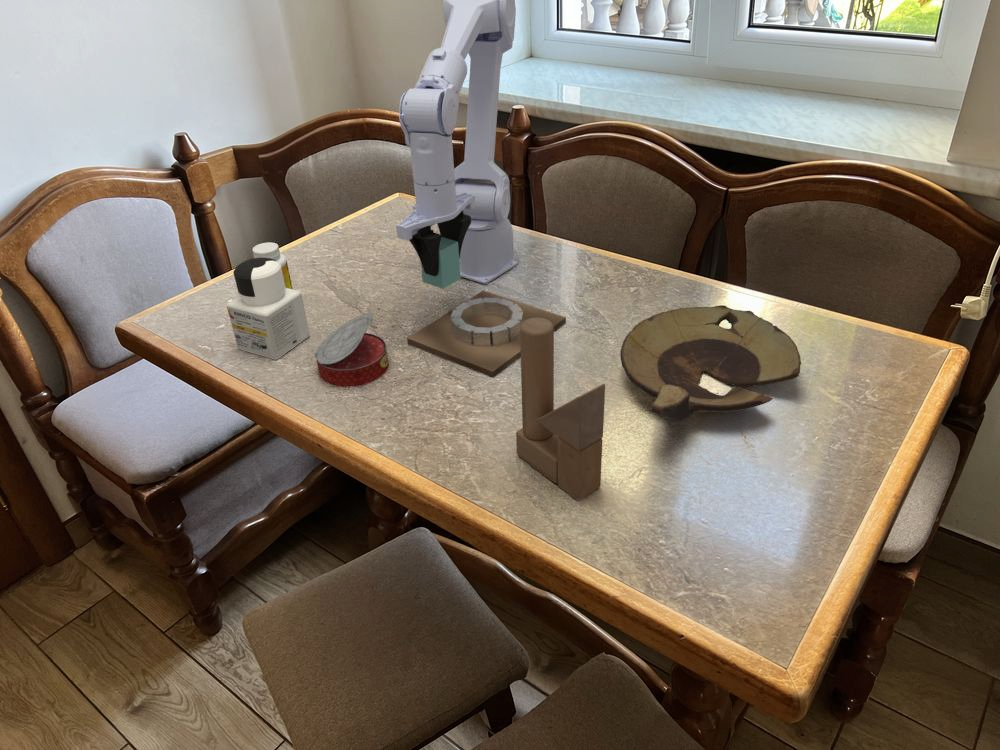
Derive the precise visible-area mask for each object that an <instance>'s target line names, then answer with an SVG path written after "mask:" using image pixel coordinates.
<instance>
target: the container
mask: <svg viewBox="0 0 1000 750" xmlns="http://www.w3.org/2000/svg"><path fill="white" fill-rule="evenodd" d="M233 277H234V281H235V285H236V289H237V293H238V296H237V297H235V298H233V299H232V300H230V301H228V303H227V304H226V309H227V313H228V317H229V320H230V323H231V327H232V331H233V335H234V338H235V342H236V346H237V349H238V350H241V351H245V352H247V353H252V354H255V355H259V356H262V357H266V358H269V359H273V360H276V361H277V360H279V359H280V358H281V357H283V356H285V354H287V353H288V352H290V351H292V349H294V348H296V347H297V346H298V345H299V344H301V343H302V342H304V341H305V340H306V339H308V338H309V337H310V336H311V335H310V330H309V329H310V328H309V324H308V319H307V314H306V310H305V304H304V299H303V295H302V292H301V291H300V290H297V289H289V288H286V287H285V283H284V278H283V273H282V269H281V264H280V263H279V262H278V261H276V260H274V259H271V258H254V257H253V258H250V259H247V260H244V261H242V262H241V263H238V264H237V265H236V267H235V268H234V270H233Z"/></svg>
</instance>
